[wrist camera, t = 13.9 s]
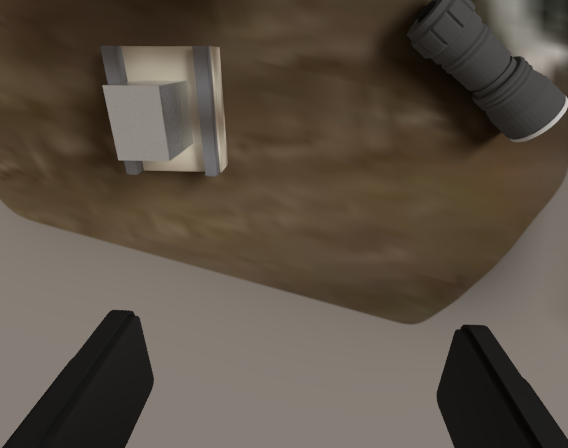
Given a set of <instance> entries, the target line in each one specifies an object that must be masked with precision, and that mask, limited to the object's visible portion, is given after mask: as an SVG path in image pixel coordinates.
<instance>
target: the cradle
mask: <svg viewBox="0 0 568 448" xmlns="http://www.w3.org/2000/svg"><path fill="white" fill-rule="evenodd" d="M100 49H101V53H102V58H103V63H104V68H105V72H106V77H107V82H108V85H109V84H116V83H124V82H132V81H140V80H161V81H187V87H188V96H189V105H190V114H191V123H192V132H193V140H194V143H193V144H192V145H191V146H189V147H188V148H187V149H185V150H184V151H183V152H181V153H180V154H179V155H177V156H176V157H175V158H173V159H172V160H171V161H129V160H124V164H125V168H126V173H127V174H132V175H138V174H140V173H141V172H142V171H144V170H148V171H196V172H205V176H217V175H218V174H219V173H220V172H222V171H223V170H224V169H225V167H226V166H227V165H228V162H227V148H226V134H225V120H224V105H223V91H222V77H221V63H220V49H219V47H213V46H100Z"/></svg>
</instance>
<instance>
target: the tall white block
mask: <svg viewBox="0 0 568 448" xmlns="http://www.w3.org/2000/svg"><path fill="white" fill-rule="evenodd" d="M102 86H103V91H104V96H105V100H106V105H107V110H108V114H109V119H110V124H111V128H112V133H113V137H114V142H115V147H116V151H117V156H118V160H129V161H171V160H172V159H173V158H175V157H176V156H177V155H179V154H180V153H181V152H183V151H184V150H185V149H187V148H188V147H189V146H191V145H192V144H193V143H194V140H193V132H192V123H191V114H190V105H189V96H188V87H187V81H161V80H140V81H132V82H124V83H116V84H109V85H102Z"/></svg>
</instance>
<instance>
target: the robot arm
mask: <svg viewBox="0 0 568 448" xmlns="http://www.w3.org/2000/svg"><path fill="white" fill-rule="evenodd" d="M153 382H154V377H153V373H152V368H151V364H150V360H149V356H148V352H147V348H146V343H145V339H144V335H143V330H142V327H141V322H140V318H139V317H138V316H135V314H134V312H133V311H126V310H125V311H124V310H112V311H110V312H109V313H108V314H107V315H106V317H105V318H104V320H103V321H102V322H101V323H100V325H99V326H98V327H97V328H96V330H95V331H94V332H93V334H92V335H91V336H90V338H89V339H88V340H87V341H86V343H85V344H84V345H83V346H82V348H81V349H80V350H79V352H78V353H77V354H76V355H75V357H73V358H72V359H71V360H70V361H69V363H68V364H67V366H65V368H64V369H63V370H62V372H61V373H60V374H59V375H58V377H57V378H56V379H55V381H54V382H53V383H52V385H51V386H50V387H49V388H48V390H47V391H46V392H45V393H44V395H43V396H42V397H41V399H40V400H39V401H38V402H37V404H36V405H35V406H34V408H33V409H32V410H31V411H30V413H29V414H28V415H27V416H26V418H25V419H24V420H23V422H22V423H21V424H20V425H19V427H18V428H17V429H16V431H15V432H14V433H13V434H12V436H11V437H10V438H9V440H8V441H7V442H6V443H5V445H4V446H3V447H2V448H125V446H126V444H127V442H128V440H129V438H130V436H131V433H132V431H133V429H134V427H135V424H136V423H137V420H138V418H139V416H140V414H141V412H142V410H143V408H144V405H145V403H146V401H147V399H148V397H149V395H150V392H151V390H152V387H153ZM437 402H438V406H439V409H440V411H441V413H442V416H443V419H444V422H445V424H446V427H447V429H448V432H449V434H450V437H451V440H452V442H453V445H454V447H455V448H568V439H567V438H566V436H565V435H564V433H563V432H562V430H561V429H560V428H559V426H558V425H557V423H556V422H555V420H554V419H553V417H552V416H551V414H550V413H549V411H548V410H547V409H546V407H545V406H544V404H543V403H542V401H541V400H540V398H539V397H538V396H537V394H536V393H535V391H534V390H533V389H532V387H531V385H530V384H529V383H528V382H527V381H526V380H525V379H524V378H523V377H522V376H521V375H520V373H519V372H518V370H517V369H516V367H515V366H514V365H513V363H512V362H511V360H510V359H509V357H508V356H507V354H506V353H505V351H504V350H503V349H502V347H501V345H500V344H499V343H498V341H497V340H496V338H495V337H494V335H493V334H492V333H491V331H490V330H489V328H488V327H487V326H484V325H463V326H462V327H461V329H460V330H456V331H455V333H454V336H453V340H452V343H451V346H450V350H449V353H448V356H447V360H446V363H445V366H444V370H443V373H442V376H441V380H440V383H439V387H438V390H437Z"/></svg>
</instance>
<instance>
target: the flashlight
mask: <svg viewBox="0 0 568 448" xmlns="http://www.w3.org/2000/svg"><path fill="white" fill-rule="evenodd" d="M481 21H482V19H481V18H480V17H479V16H478V15H477V14H476V13H475V5H474V4H473V3H472V2H471V1H470V0H432V1H431V2H430V3H429V4H428V5H427V6H426V7H425V8H424V9H423V10H422V12H421V13H420V15H419V16H418V18H417V19H416V20H415V22H414V23H413V25H412V26H411V28H410V29H409V31H408V33H407V37H409V38H410V39H411V46H412V47H413V48H414V49H415V50H416V51H418V52H419V53H420V54H421V55H422V56H423V57H424V58H425V59H427V58H431V59H432V60H433V61H434V62H435V63H436V64H438V65H439V64H441V67H442V69H444V70H446V73H448V74H451V75H452V76H453V77H455V78H456V79H457V80H458V81H459V82H460V83H461V84H462V85H463V86H464V87H465V88H466V89H467V90H469V91H472V92H473V95H472V100H473V102H474V103H476V104H477V106H479V107H480V108H481V109H482V110H485V112H486V114H487V116H488V118H489V119H490V121H491V123H492V124H494V125H495V126H496V127H497V128H498V129H499V130H500V131H501V132H502V133H503V134H504V135H505V136H506V137H507V138H509V139H510V140H511V141H513V142H523V141H527V140H530V139H532V138H534V137H536V136H538V135H540V134H542V133H543V132H545V131H546V130H548V129H549V128H550V127H552V126H553V125H554V124H555V123H556V122H557V121H558V120H559V119H560V118H561V117H562V116H563V114H564V113H565V111H566V110H567V107H568V98H567V97H566V96H565V95H564V94H563V93H562V92H561V91H560V90H559V89H558V88H557V87H556V86H555V85H554V84H553V83H552V82H551V81H550V80H549V79H548V78H547V77H546V76H544V75H542V74H541V73H539V72H537V71H535V70H533V68H532V66H531V65H529V63H528V62H527V61H525V59H524V58H523V57H520V56H518V57H512V56H511V53H510V51H509V50H508V49H507V48H506V47H505V46H504V45H503V44H502V43H501V42H500V41H499V40H498V39H497V38H496V37H495V36H494V35H493V34H492V30H491V29H490V28H487V25H486V24H482V23H481Z"/></svg>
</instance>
